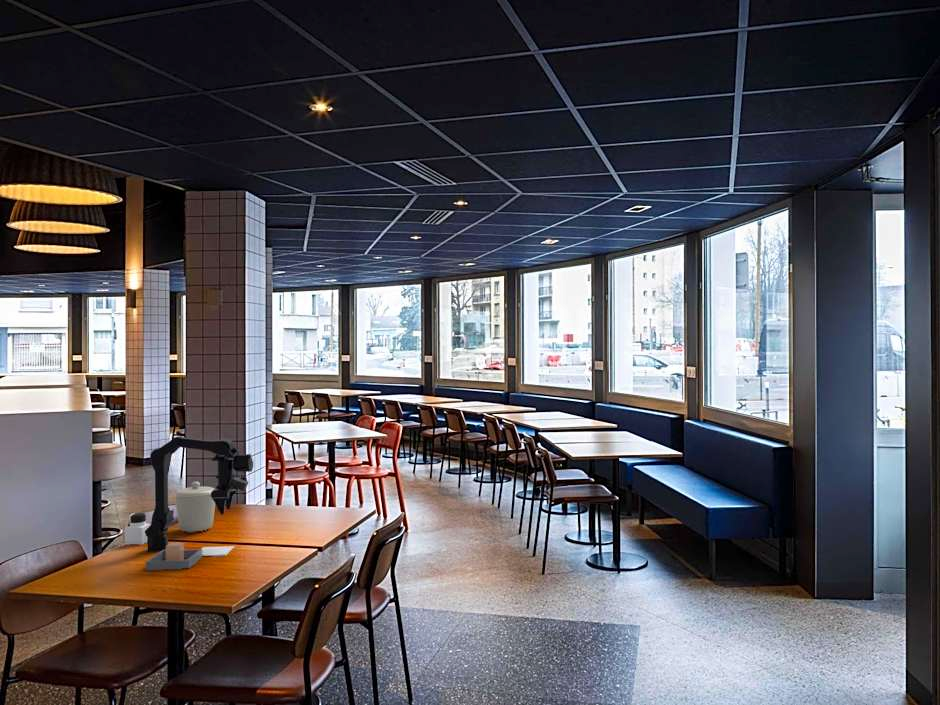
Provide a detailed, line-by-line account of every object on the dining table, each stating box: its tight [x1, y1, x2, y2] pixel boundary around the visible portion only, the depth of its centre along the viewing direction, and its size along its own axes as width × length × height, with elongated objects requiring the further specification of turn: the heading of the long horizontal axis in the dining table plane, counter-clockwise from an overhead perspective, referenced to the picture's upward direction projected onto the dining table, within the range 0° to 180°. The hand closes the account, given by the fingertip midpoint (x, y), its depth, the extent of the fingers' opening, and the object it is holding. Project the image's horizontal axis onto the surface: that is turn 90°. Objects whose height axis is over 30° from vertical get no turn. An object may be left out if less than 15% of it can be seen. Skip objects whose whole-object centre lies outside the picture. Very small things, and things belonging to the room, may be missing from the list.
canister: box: [172, 481, 216, 533], centre depth 316 cm, size 18×18×21 cm
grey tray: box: [145, 548, 203, 571], centre depth 263 cm, size 15×15×3 cm
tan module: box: [165, 542, 185, 560], centre depth 263 cm, size 5×4×7 cm
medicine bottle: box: [124, 512, 151, 546], centre depth 295 cm, size 7×7×12 cm
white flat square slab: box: [201, 545, 235, 557], centre depth 278 cm, size 12×12×1 cm
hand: (225, 511), depth 284 cm, fingers open, 9 cm apart
